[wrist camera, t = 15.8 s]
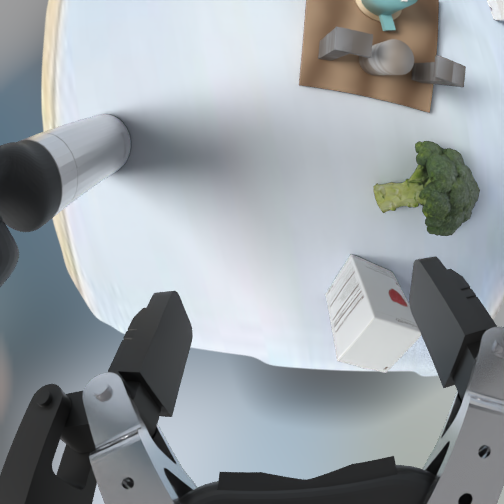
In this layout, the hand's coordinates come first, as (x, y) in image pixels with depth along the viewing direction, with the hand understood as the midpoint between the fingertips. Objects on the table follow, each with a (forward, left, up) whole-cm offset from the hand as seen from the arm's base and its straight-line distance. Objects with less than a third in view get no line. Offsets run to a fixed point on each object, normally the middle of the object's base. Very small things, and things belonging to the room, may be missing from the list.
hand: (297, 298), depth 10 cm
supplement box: (+16, -22, -33) cm, 43 cm away
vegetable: (+21, -4, -33) cm, 39 cm away
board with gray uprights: (+11, +16, -33) cm, 38 cm away
